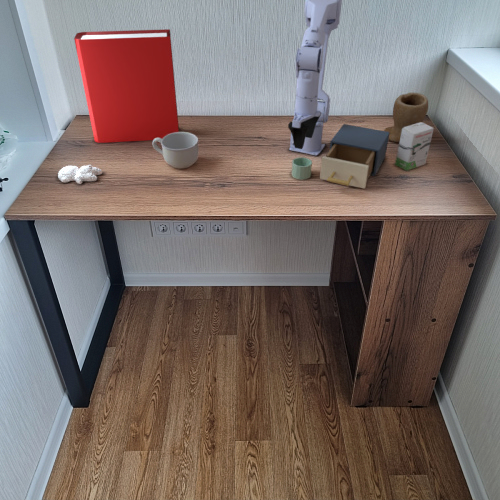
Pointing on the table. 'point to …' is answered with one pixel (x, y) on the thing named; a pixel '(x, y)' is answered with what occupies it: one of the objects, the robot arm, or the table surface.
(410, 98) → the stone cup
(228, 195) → the table surface
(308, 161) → the cup
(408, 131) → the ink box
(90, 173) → the white plush toy
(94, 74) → the book
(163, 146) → the teacup
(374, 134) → the cabinet
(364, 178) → the drawer
